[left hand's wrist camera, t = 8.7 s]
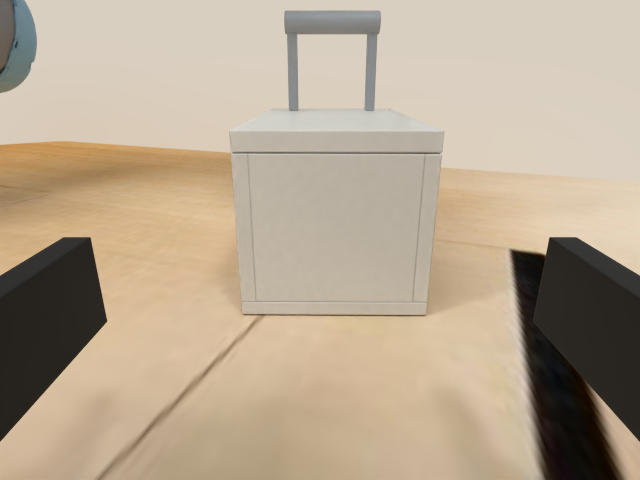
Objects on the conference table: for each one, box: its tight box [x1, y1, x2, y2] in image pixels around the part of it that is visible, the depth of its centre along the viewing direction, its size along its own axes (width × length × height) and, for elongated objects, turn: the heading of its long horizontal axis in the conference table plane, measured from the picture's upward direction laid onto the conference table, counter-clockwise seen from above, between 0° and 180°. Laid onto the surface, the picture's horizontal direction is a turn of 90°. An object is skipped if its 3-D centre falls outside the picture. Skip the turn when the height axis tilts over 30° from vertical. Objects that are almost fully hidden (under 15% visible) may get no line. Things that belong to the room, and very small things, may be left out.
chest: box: [231, 152, 442, 315], centre depth 29 cm, size 16×10×9 cm, turn 0°
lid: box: [229, 11, 444, 153], centre depth 27 cm, size 18×10×8 cm, turn 0°
